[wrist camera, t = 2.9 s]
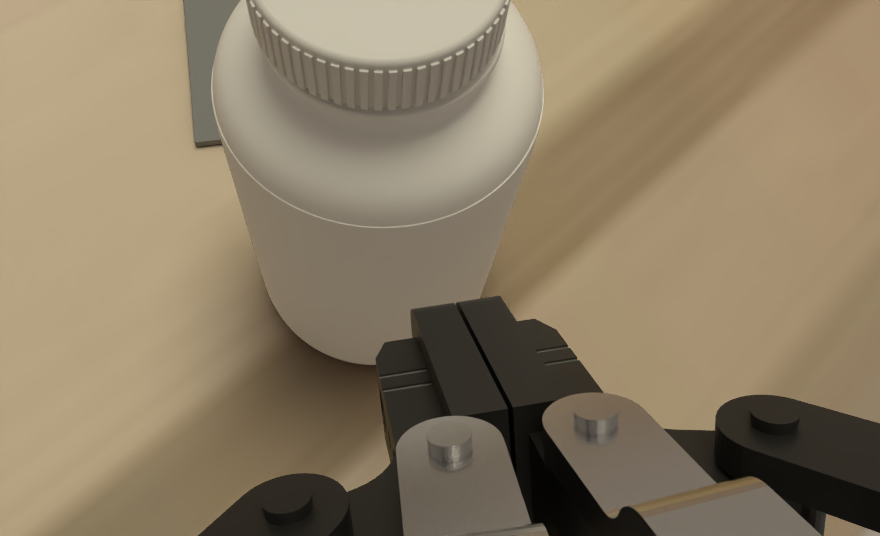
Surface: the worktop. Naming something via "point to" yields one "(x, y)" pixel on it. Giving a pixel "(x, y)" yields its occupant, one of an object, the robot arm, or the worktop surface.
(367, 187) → the pill bottle
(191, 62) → the mat
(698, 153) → the worktop surface
